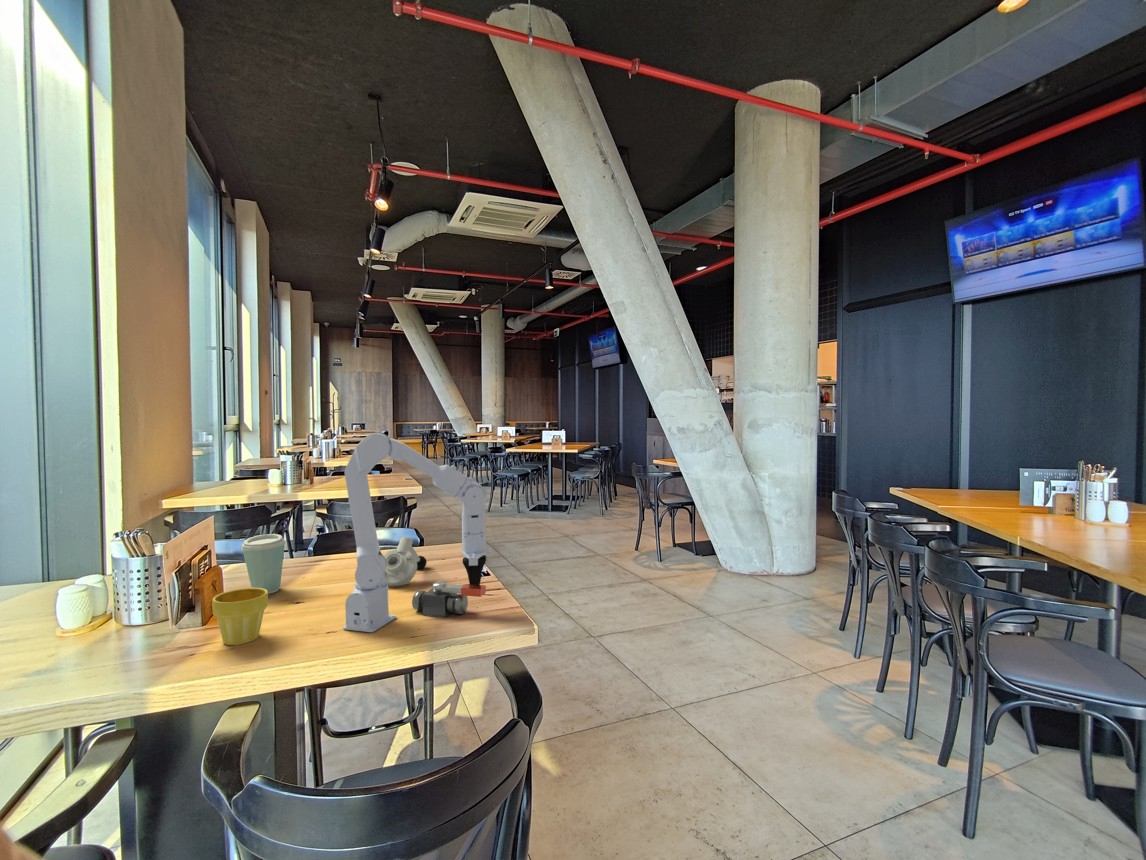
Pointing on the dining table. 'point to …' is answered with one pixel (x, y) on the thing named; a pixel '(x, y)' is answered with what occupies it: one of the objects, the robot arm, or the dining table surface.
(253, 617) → the plant pot
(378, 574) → the robot arm
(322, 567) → the dining table surface
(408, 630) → the dining table surface
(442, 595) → the pipe valve
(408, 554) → the grey rounded housing
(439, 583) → the valve lever
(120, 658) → the dining table surface
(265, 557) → the disposable coffee cup
